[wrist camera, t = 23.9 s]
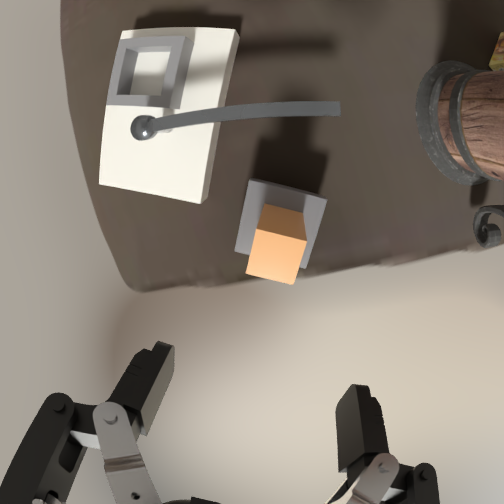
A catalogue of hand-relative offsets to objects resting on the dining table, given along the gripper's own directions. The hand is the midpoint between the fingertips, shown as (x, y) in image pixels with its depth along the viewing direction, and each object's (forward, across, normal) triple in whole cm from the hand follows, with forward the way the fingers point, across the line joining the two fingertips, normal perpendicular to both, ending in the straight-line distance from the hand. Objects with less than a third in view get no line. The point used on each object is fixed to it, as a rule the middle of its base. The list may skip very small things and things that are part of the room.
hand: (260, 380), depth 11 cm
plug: (+24, 0, 0) cm, 24 cm away
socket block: (+24, +16, -10) cm, 31 cm away
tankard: (+24, -22, -16) cm, 37 cm away
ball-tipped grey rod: (+16, +6, -10) cm, 20 cm away
